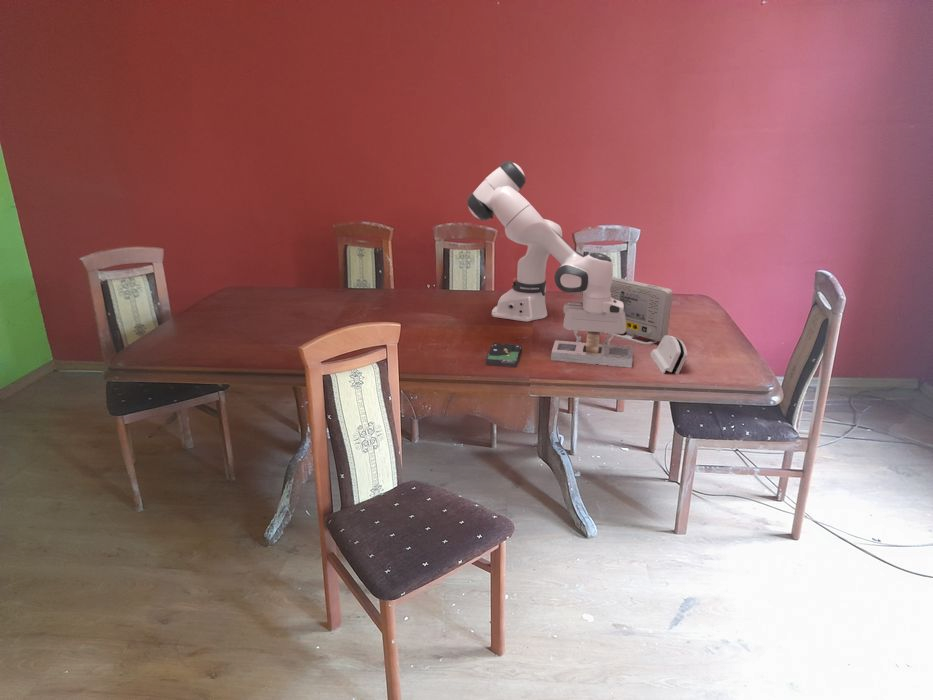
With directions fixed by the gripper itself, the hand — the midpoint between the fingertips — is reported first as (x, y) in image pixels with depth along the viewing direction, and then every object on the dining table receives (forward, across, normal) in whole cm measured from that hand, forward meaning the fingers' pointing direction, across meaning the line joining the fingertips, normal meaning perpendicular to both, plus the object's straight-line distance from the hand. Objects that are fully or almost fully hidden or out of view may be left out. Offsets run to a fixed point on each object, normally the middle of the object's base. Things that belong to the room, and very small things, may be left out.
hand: (592, 343), depth 199 cm
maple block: (+5, 0, 0) cm, 5 cm away
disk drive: (+6, -28, -7) cm, 30 cm away
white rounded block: (+6, +24, +1) cm, 25 cm away
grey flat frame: (+5, 0, 0) cm, 5 cm away
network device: (+5, +13, +24) cm, 28 cm away
